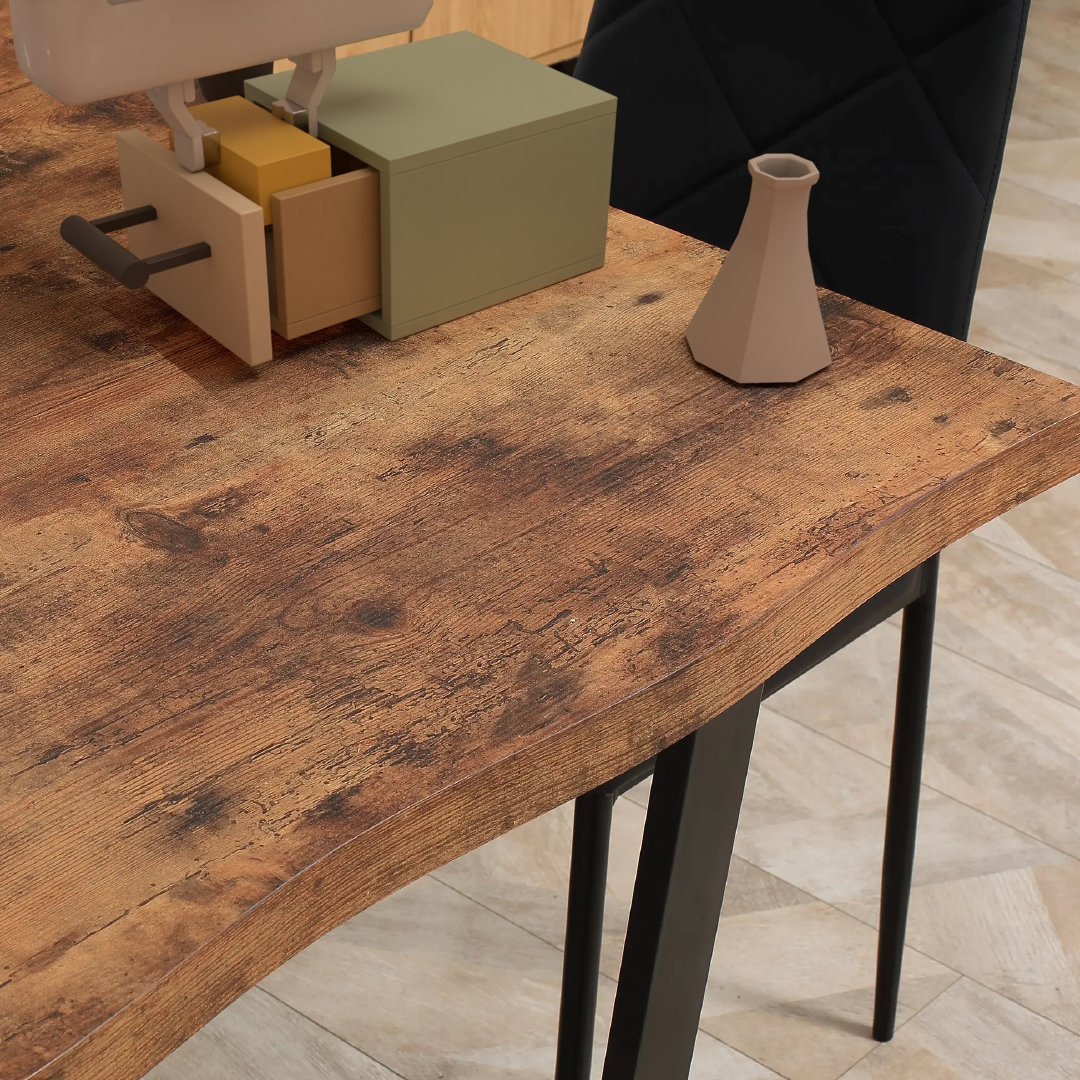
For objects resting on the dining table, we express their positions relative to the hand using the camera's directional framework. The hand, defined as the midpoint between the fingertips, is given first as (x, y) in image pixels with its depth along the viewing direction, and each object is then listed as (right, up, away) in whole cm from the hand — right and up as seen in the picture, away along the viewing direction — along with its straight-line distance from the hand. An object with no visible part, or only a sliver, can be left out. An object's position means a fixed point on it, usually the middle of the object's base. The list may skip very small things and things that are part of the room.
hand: (248, 152), depth 74 cm
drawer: (0, -6, +5) cm, 8 cm away
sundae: (-4, +4, +20) cm, 21 cm away
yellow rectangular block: (0, -1, +1) cm, 2 cm away
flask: (+25, -9, +5) cm, 27 cm away
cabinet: (+8, -3, +11) cm, 14 cm away
